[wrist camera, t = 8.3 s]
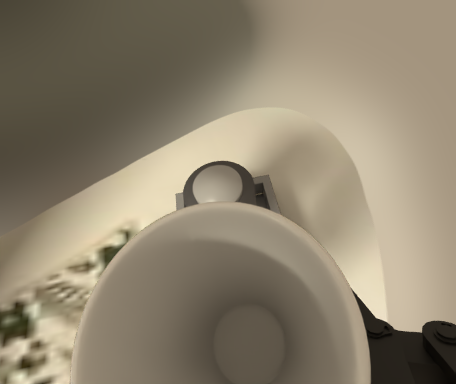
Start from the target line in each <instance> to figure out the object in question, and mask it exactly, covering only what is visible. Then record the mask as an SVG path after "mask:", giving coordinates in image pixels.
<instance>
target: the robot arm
mask: <svg viewBox="0 0 456 384" xmlns="http://www.w3.org/2000/svg"><path fill="white" fill-rule="evenodd" d="M351 290H352V289H351ZM352 292H353V294H354V296H355V298H356V301H357V303H358V306H359V309H360V312H361V315H362V318H363V322H364V326H365V329H366V334H367V339H368V345H369V352H370V363H371V384H456V325H455V324H452V323H449V322H444V321H431V322H427V323H426V324H425V325H424V326H423V328H422V333H420V332H405V331H398V330H395V329H394V328H393V327H392V326H391V325H389V324H388V323H387V322H385V321H383V320H380V319H376V317H375V316H374V315H373V314H372V313H371V311H370V310H369V309H368V308H367V307H366V305H365V304H364V303H363V302H362V301H361V299H360V298H359V297H358V296H357V295H356V293H355V292H354V291H353V290H352Z"/></svg>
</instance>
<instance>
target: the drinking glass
mask: <svg viewBox="0 0 456 384" xmlns="http://www.w3.org/2000/svg"><path fill="white" fill-rule="evenodd" d="M70 384H371V363H370V352H369V345H368V339H367V334H366V329H365V326H364V322H363V318H362V315H361V312H360V309H359V306H358V303H357V301H356V298H355V296H354V294H353V292H352V290H351V287H350V285H349V283H348V282H347V280H346V278H345V276H344V275H343V273H342V271H341V270H340V268H339V267H338V265H337V264H336V262H335V261H334V260H333V258H332V257H331V256H330V255H329V253H328V252H327V251H326V250H325V249H324V247H323V246H322V245H321V244H320V243H319V242H318V241H317V240H316V239H315V238H314V237H312V236H311V235H310V234H309V233H308V232H307V231H305V230H304V229H303V228H301V227H300V226H298V225H297V224H296V223H294V222H293V221H291V220H289V219H287V218H286V217H284V216H282V215H280V214H278V213H276V212H273V211H271V210H268V209H265V208H263V207H259V206H255V205H252V204H246V203H241V202H230V201H218V202H207V203H201V204H196V205H192V206H188V207H185V208H182V209H179V210H176V211H174V212H172V213H170V214H167V215H165V216H163V217H162V218H160V219H158V220H156V221H154V222H153V223H151V224H150V225H148V226H147V227H145V228H144V229H143V230H141V231H140V232H139V233H138V234H136V235H135V236H134V237H133V238H132V239H131V240H130V241H128V242H127V243H126V244H125V245H124V247H123V248H122V249H121V250H120V251H119V252H118V253H117V254H116V255H115V257H114V258H113V259H112V260H111V261H110V263H109V264H108V266H107V267H106V269H105V270H104V271H103V273H102V274H101V276H100V278H99V279H98V281H97V283H96V284H95V286H94V288H93V290H92V292H91V294H90V296H89V298H88V301H87V303H86V306H85V308H84V310H83V313H82V316H81V319H80V322H79V325H78V329H77V333H76V337H75V341H74V347H73V352H72V359H71V370H70Z"/></svg>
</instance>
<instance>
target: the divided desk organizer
mask: <svg viewBox="0 0 456 384" xmlns="http://www.w3.org/2000/svg"><path fill="white" fill-rule="evenodd" d="M258 193H263V194H261V195H255V194H258ZM218 201H230V202H241V203H246V204H252V205H255V206H259V207H263V208H265V209H268V210H271V211H273V212H276V213H278V214H280V210H279V207H278V204H277V201H276V197H275V194H274V191H273V188H272V184H271V181H270V178H269V175H265V176H260V177H255V178H252V176H251V174H250V173H249V172H248V171H247V170H246V169H245V168H244V167H242V166H241V165H239V164H236V163H233V162H229V161H216V162H211V163H208V164H205V165H203V166H201V167H200V168H198V169H197V170H196V171H194V172H193V173H192V174H191V176H190V177H189V178H188V180H187V181H186V184H185V186H184V190H183V193H178V194H176V208H177V210H179V209H182V208H185V207H188V206H192V205H196V204H201V203H207V202H218ZM280 215H281V214H280Z"/></svg>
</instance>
